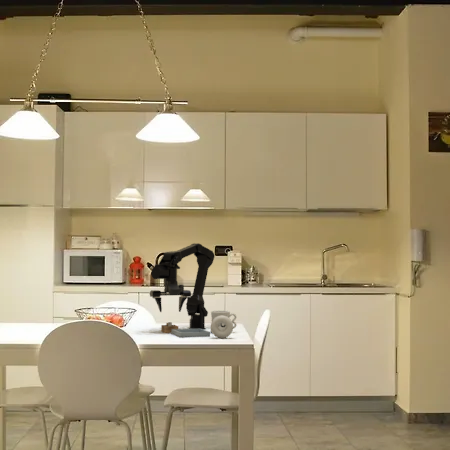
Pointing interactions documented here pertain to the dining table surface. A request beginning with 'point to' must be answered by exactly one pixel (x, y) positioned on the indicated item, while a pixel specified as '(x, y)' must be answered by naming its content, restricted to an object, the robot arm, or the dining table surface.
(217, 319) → the grey wheel
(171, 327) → the ring
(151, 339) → the dining table surface
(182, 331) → the tray
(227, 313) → the mug
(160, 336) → the dining table surface
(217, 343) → the dining table surface
